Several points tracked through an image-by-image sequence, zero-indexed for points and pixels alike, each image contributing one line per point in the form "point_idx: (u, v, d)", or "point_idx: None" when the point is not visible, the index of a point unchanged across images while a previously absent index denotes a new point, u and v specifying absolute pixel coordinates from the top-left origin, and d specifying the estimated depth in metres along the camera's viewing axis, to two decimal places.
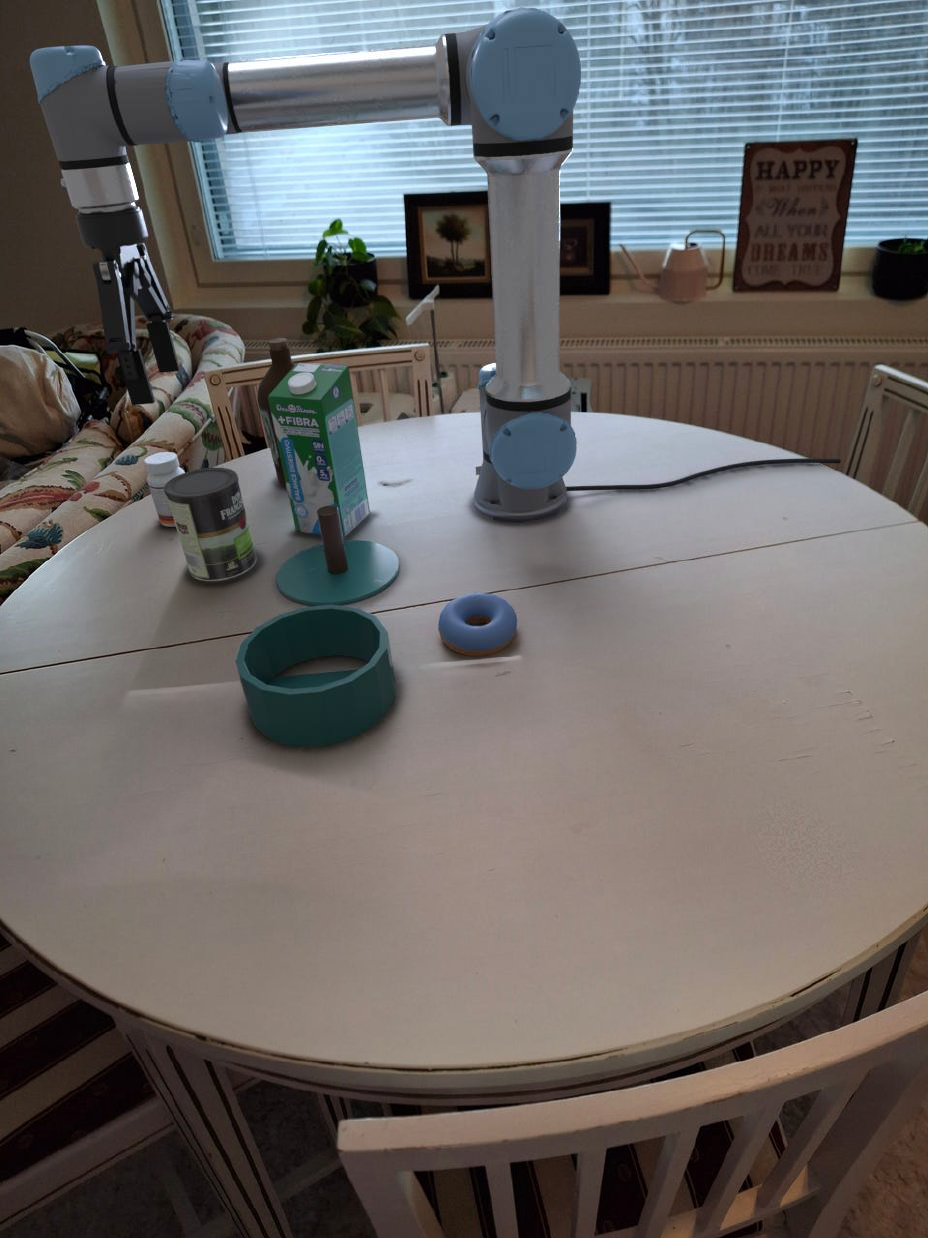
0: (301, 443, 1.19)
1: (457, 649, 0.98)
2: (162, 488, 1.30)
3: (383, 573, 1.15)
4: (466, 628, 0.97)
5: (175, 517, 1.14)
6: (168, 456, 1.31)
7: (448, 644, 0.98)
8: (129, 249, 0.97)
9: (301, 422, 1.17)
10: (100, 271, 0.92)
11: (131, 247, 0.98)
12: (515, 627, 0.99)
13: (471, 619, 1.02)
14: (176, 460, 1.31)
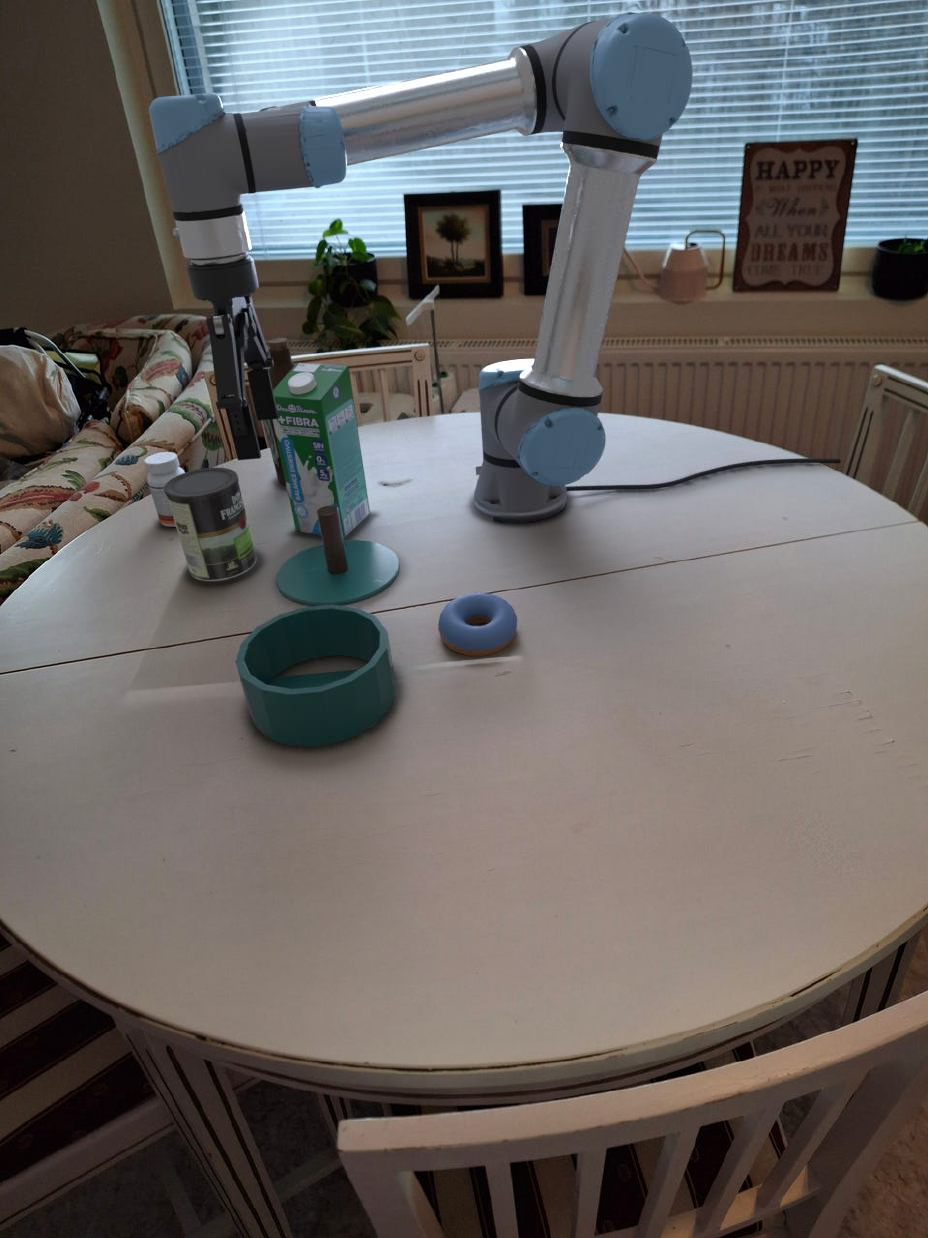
0: (301, 443, 1.19)
1: (457, 649, 0.98)
2: (162, 488, 1.30)
3: (383, 573, 1.15)
4: (466, 628, 0.97)
5: (175, 517, 1.14)
6: (168, 456, 1.31)
7: (448, 644, 0.98)
8: (238, 299, 0.93)
9: (301, 422, 1.17)
10: (214, 326, 0.88)
11: (240, 297, 0.94)
12: (515, 627, 0.99)
13: (471, 619, 1.02)
14: (176, 460, 1.31)
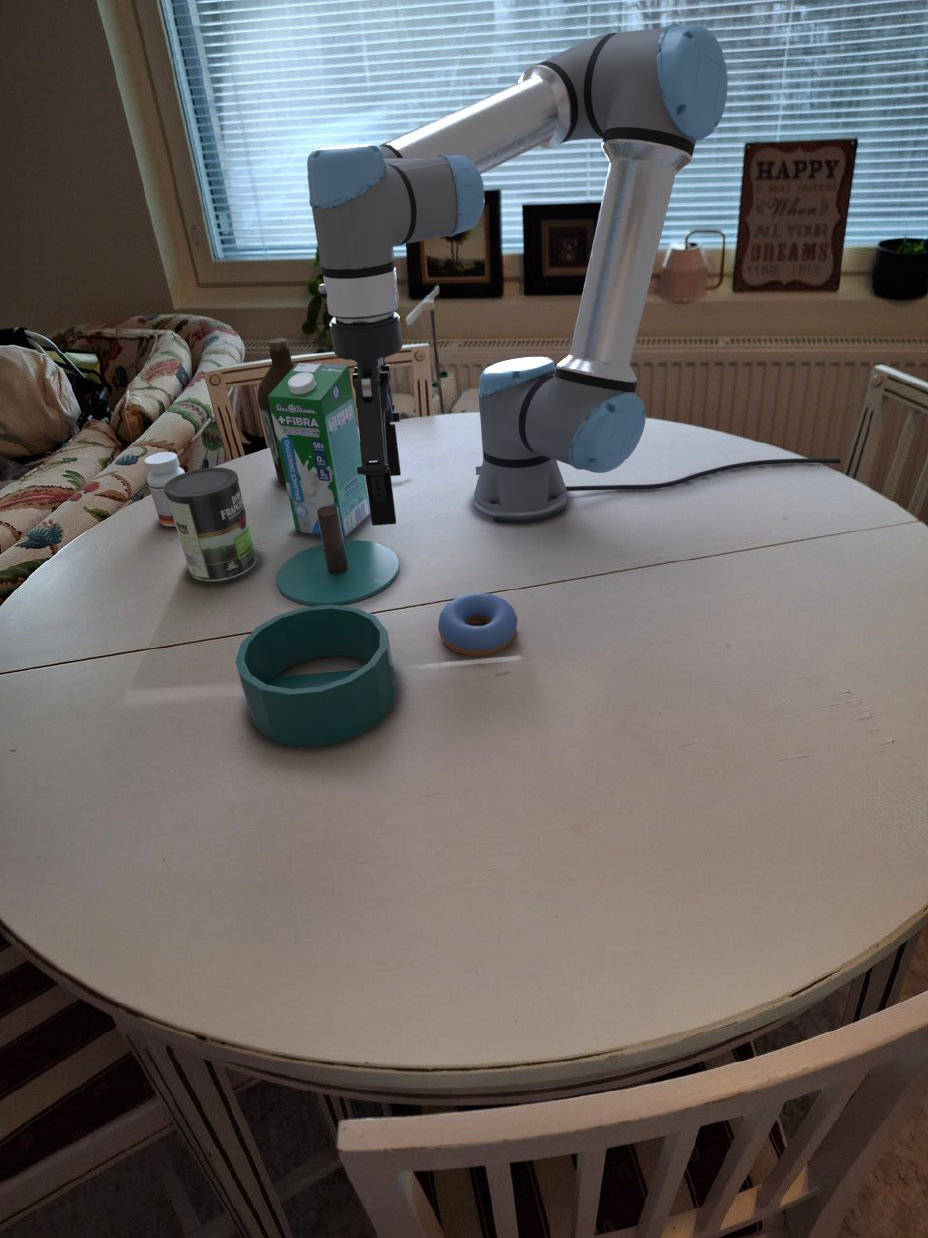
0: (301, 443, 1.19)
1: (457, 649, 0.98)
2: (162, 488, 1.30)
3: (383, 573, 1.15)
4: (466, 628, 0.97)
5: (175, 517, 1.14)
6: (168, 456, 1.31)
7: (448, 644, 0.98)
8: (380, 357, 0.88)
9: (301, 422, 1.17)
10: (362, 388, 0.82)
11: None
12: (515, 627, 0.99)
13: (471, 619, 1.02)
14: (176, 460, 1.31)
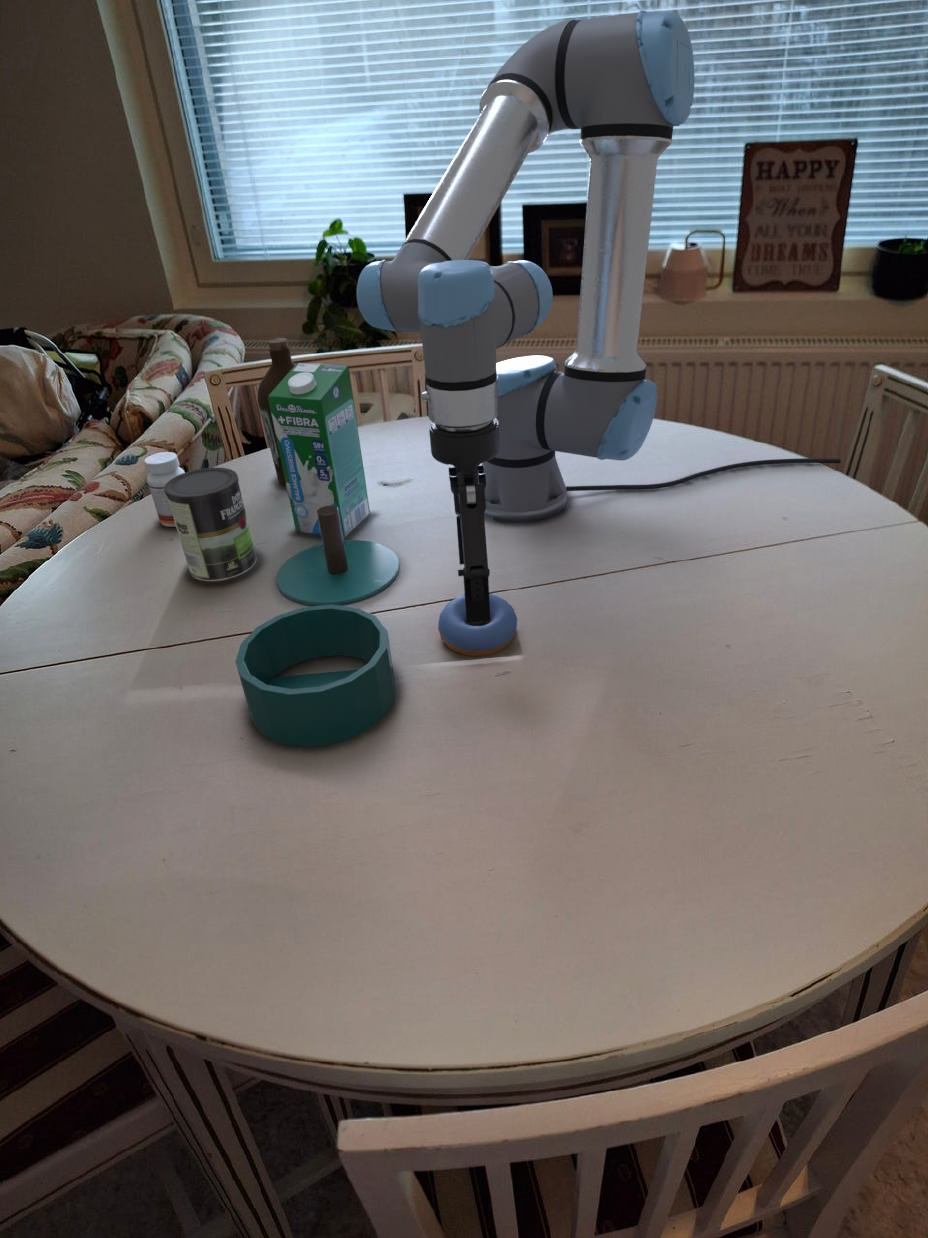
0: (301, 443, 1.19)
1: (457, 649, 0.98)
2: (162, 488, 1.30)
3: (383, 573, 1.15)
4: (466, 627, 0.97)
5: (175, 517, 1.14)
6: (168, 456, 1.31)
7: (448, 644, 0.98)
8: None
9: (301, 422, 1.17)
10: (466, 496, 0.83)
11: None
12: (515, 627, 0.99)
13: None
14: (176, 460, 1.31)
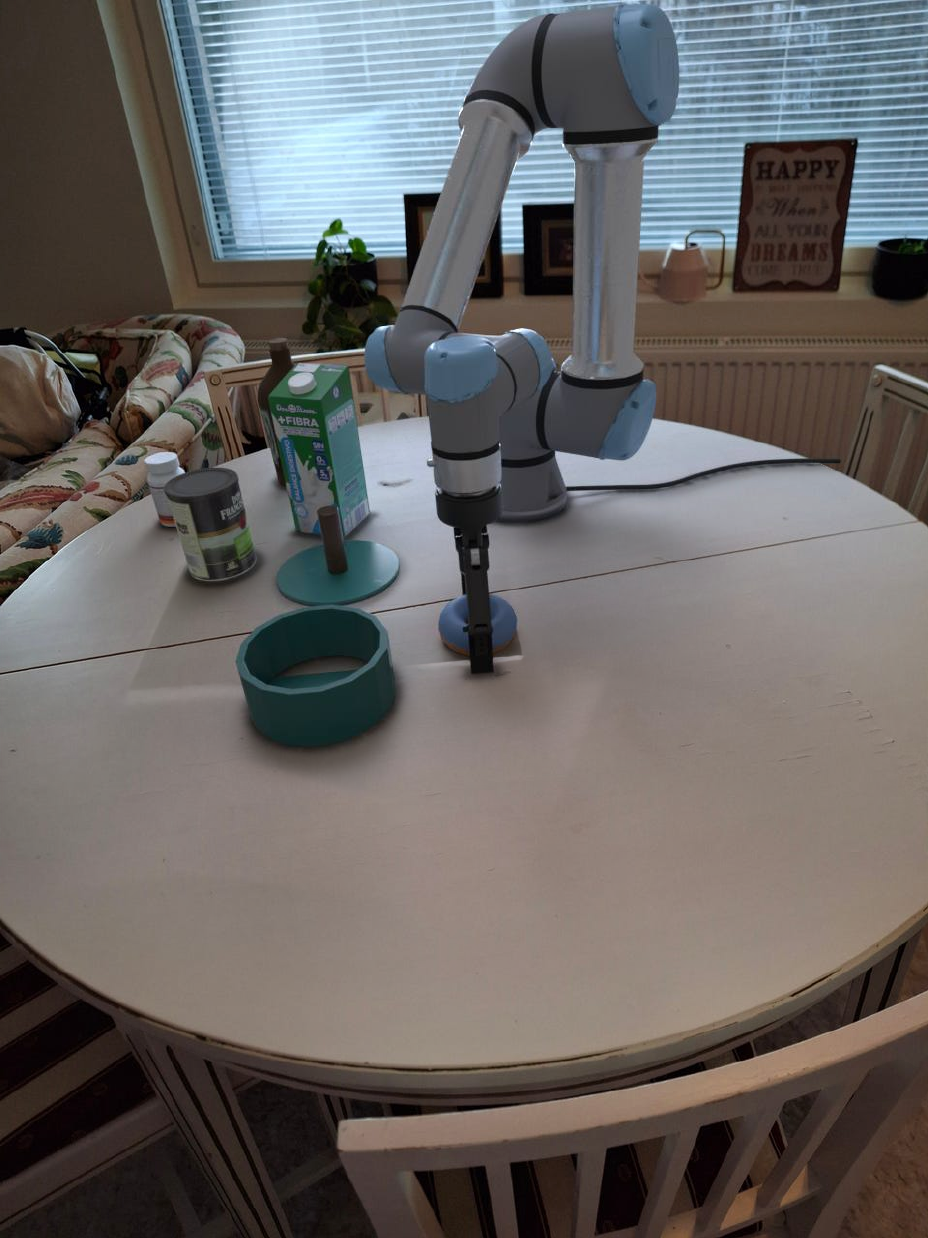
0: (301, 443, 1.19)
1: (457, 649, 0.98)
2: (162, 488, 1.30)
3: (383, 573, 1.15)
4: None
5: (175, 517, 1.14)
6: (168, 456, 1.31)
7: (448, 644, 0.98)
8: None
9: (301, 422, 1.17)
10: (471, 558, 0.87)
11: None
12: (515, 627, 0.99)
13: None
14: (176, 460, 1.31)
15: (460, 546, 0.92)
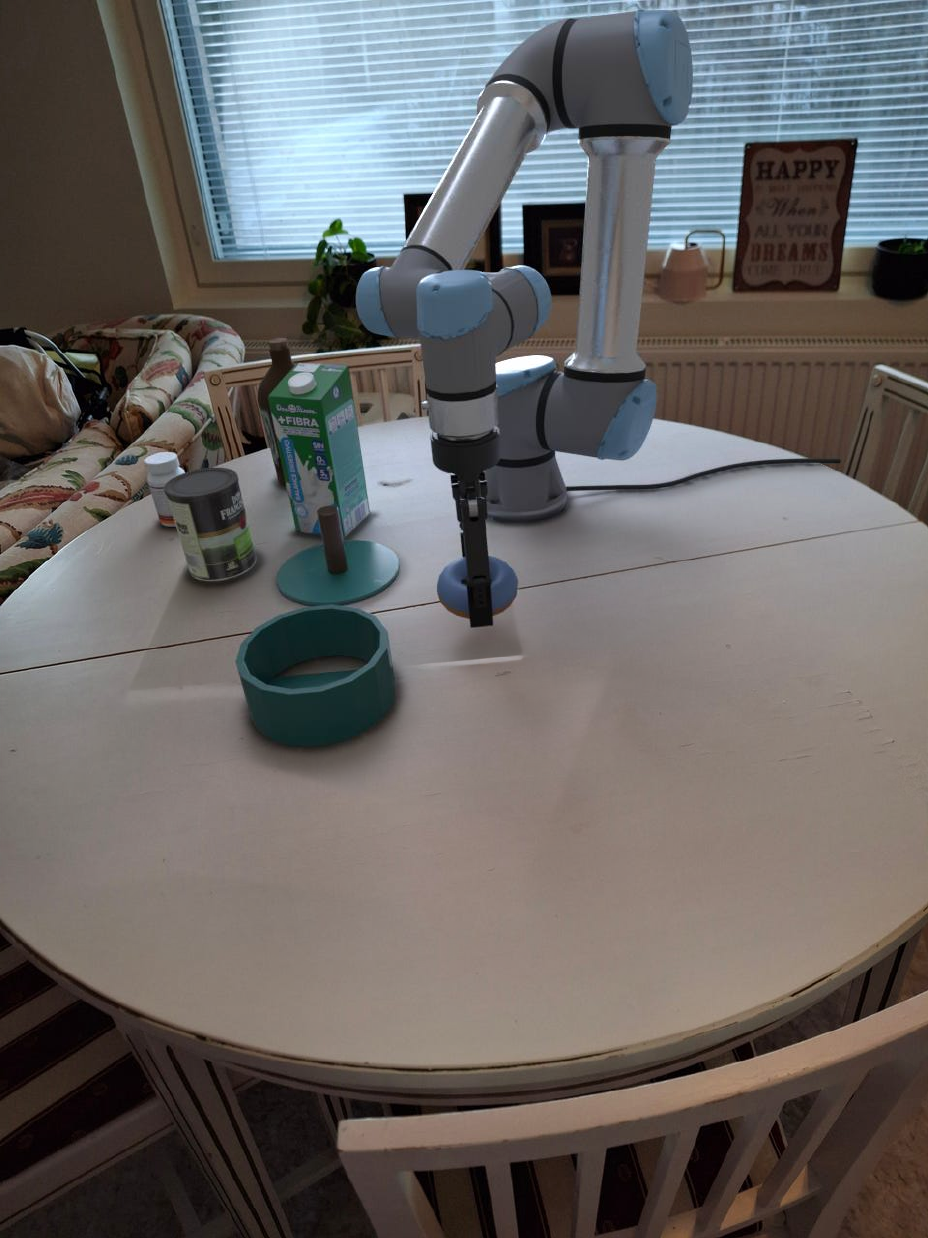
0: (301, 443, 1.19)
1: (456, 611, 0.95)
2: (162, 488, 1.30)
3: (383, 573, 1.15)
4: (466, 589, 0.94)
5: (175, 517, 1.14)
6: (168, 456, 1.31)
7: (447, 607, 0.96)
8: None
9: (301, 422, 1.17)
10: (468, 510, 0.84)
11: None
12: (516, 589, 0.96)
13: None
14: (176, 460, 1.31)
15: (457, 494, 0.88)
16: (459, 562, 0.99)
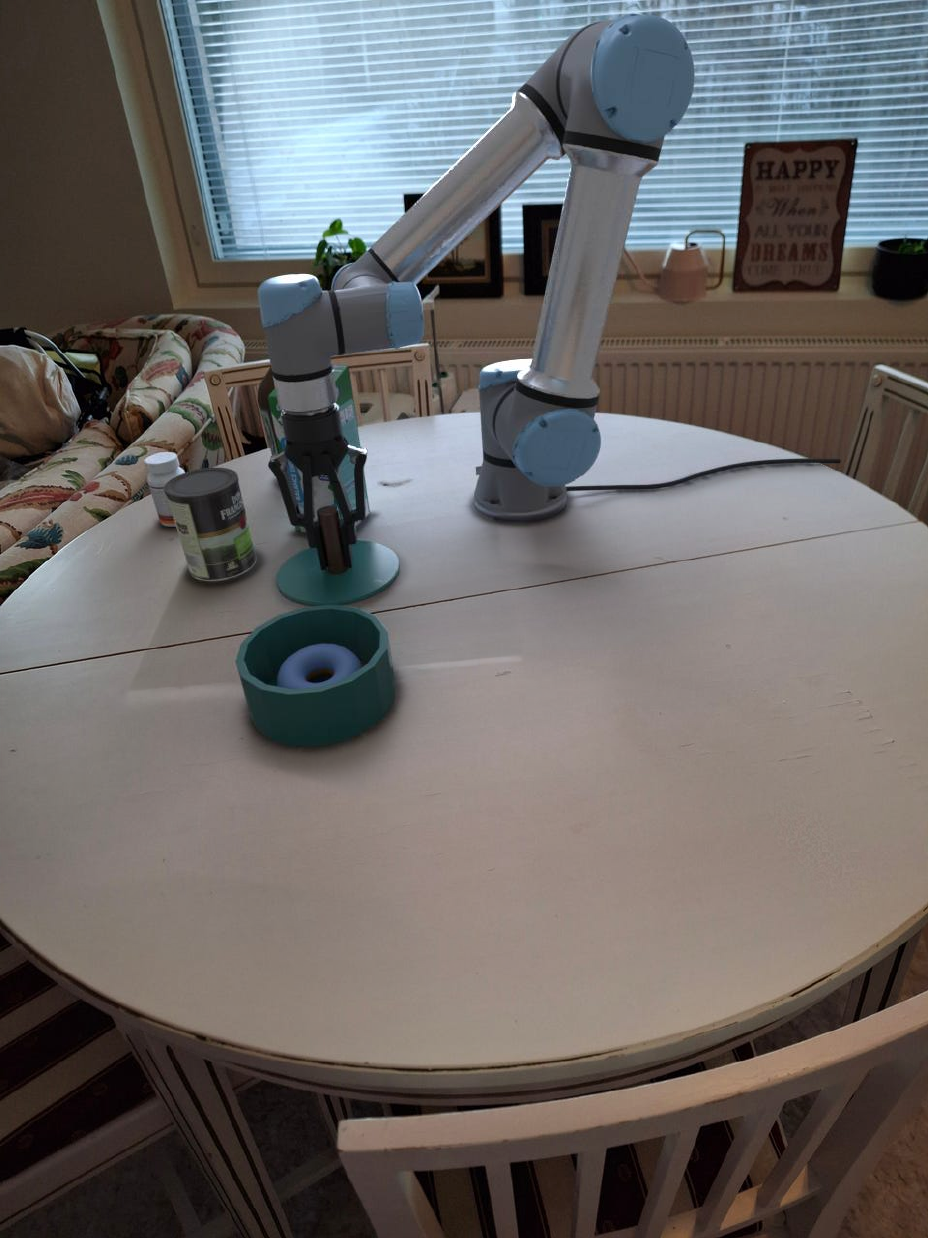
0: None
1: None
2: (162, 488, 1.30)
3: (383, 573, 1.15)
4: (302, 685, 0.89)
5: (175, 517, 1.14)
6: (168, 456, 1.31)
7: None
8: (318, 443, 1.05)
9: None
10: None
11: (325, 442, 1.05)
12: None
13: (316, 673, 0.94)
14: (176, 460, 1.31)
15: None
16: (303, 652, 0.93)
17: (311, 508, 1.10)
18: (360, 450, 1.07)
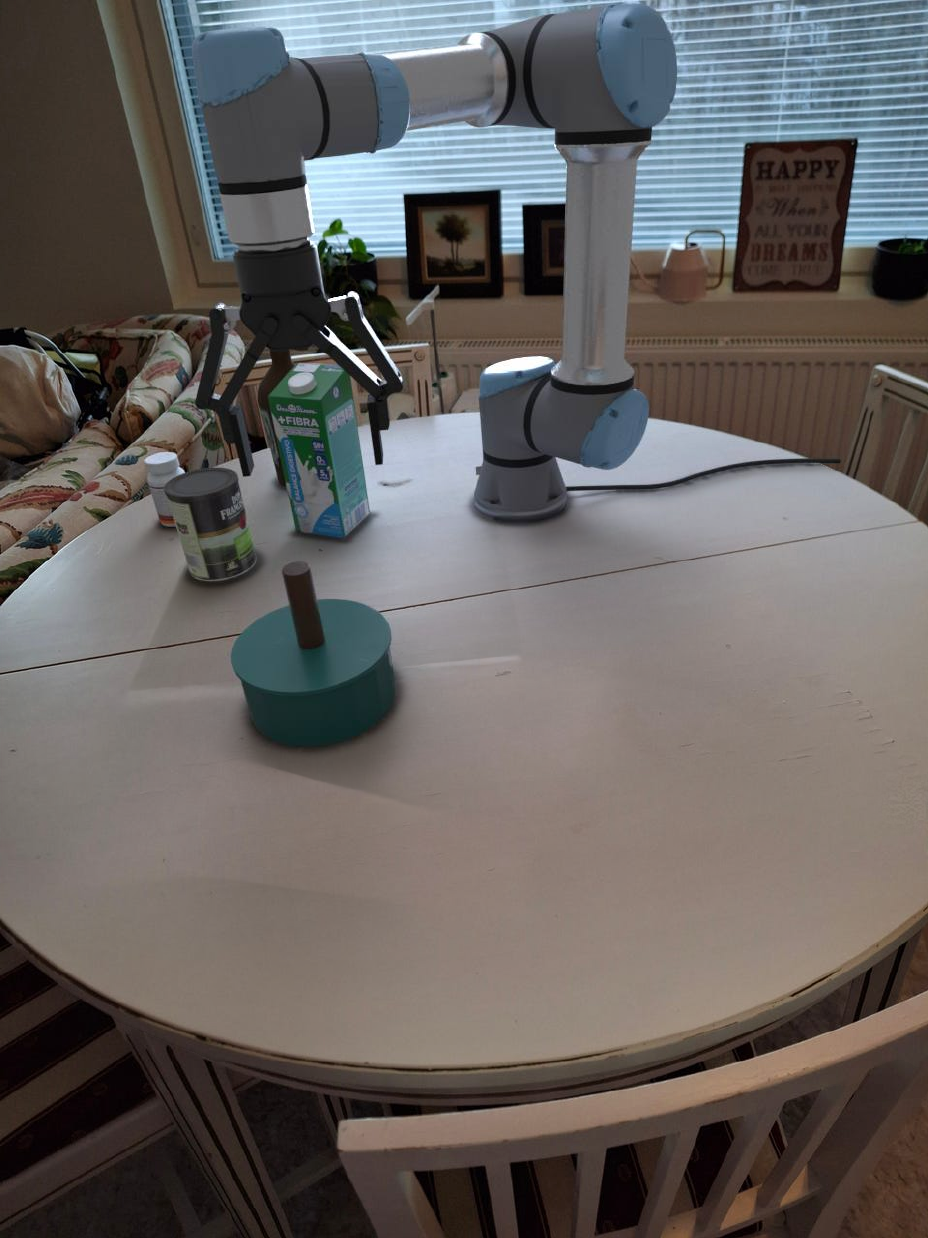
0: (301, 443, 1.19)
1: None
2: (162, 488, 1.30)
3: (370, 648, 0.88)
4: None
5: (175, 517, 1.14)
6: (168, 456, 1.31)
7: None
8: (287, 300, 0.73)
9: (301, 422, 1.17)
10: None
11: (297, 298, 0.73)
12: None
13: None
14: (176, 460, 1.31)
15: None
16: None
17: (238, 389, 0.77)
18: (346, 296, 0.74)
